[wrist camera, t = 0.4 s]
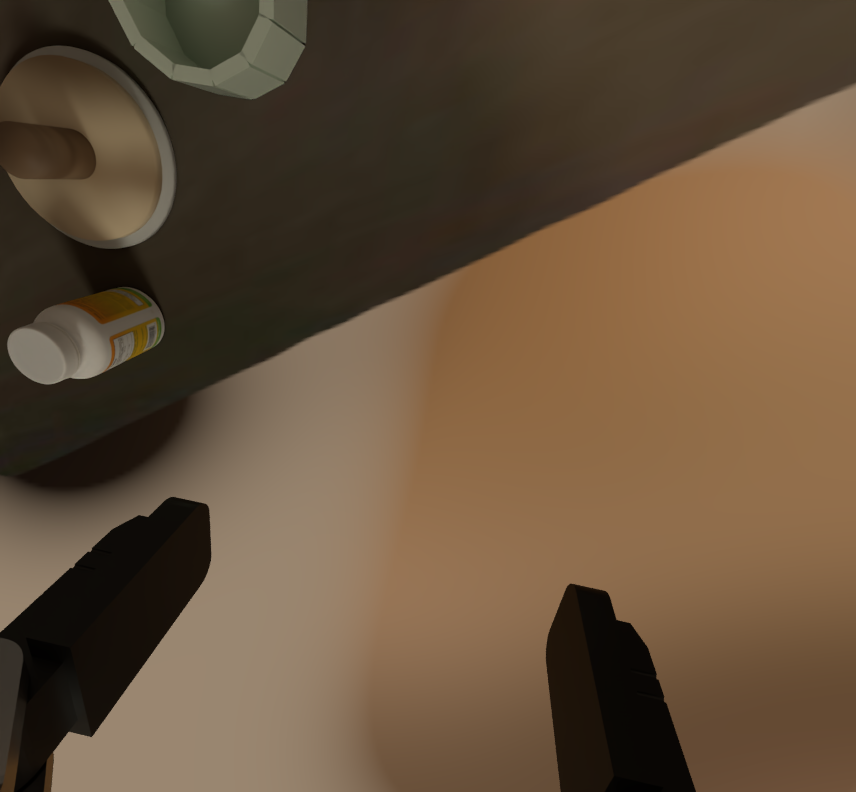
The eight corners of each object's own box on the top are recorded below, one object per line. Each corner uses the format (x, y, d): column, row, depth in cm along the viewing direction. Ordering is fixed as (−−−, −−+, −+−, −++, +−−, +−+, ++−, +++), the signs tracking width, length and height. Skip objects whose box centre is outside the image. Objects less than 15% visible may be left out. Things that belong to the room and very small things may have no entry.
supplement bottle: (92, 296, 39) (-22, 329, 31) (145, 277, 38) (42, 306, 29) (127, 355, 41) (29, 402, 33) (178, 339, 40) (90, 383, 31)
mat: (-14, 34, 32) (-22, 31, 32) (169, 63, 32) (163, 61, 31) (26, 232, 38) (19, 233, 37) (182, 260, 37) (178, 262, 37)
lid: (-10, 45, 32) (-102, 20, 27) (154, 72, 32) (91, 52, 27) (26, 225, 37) (-47, 232, 32) (168, 251, 36) (117, 262, 31)
